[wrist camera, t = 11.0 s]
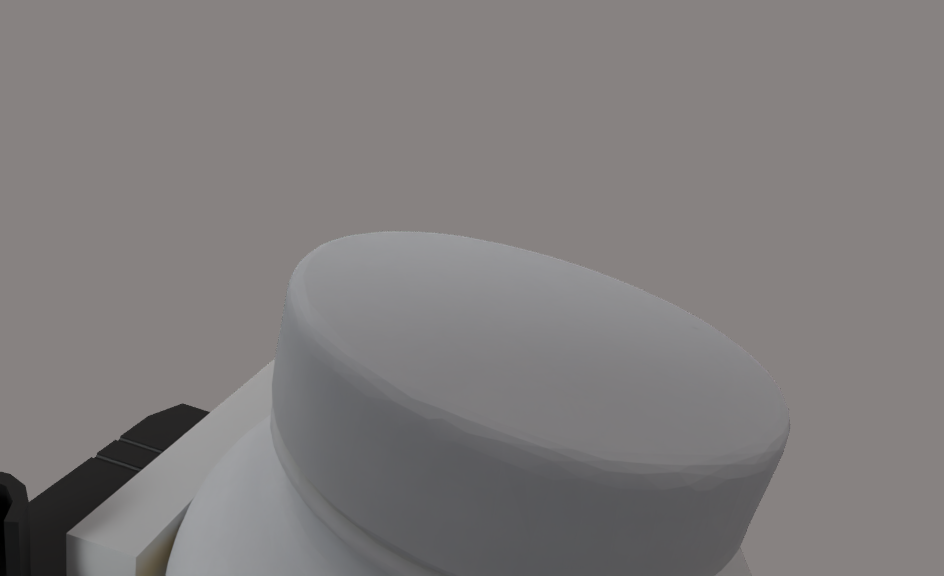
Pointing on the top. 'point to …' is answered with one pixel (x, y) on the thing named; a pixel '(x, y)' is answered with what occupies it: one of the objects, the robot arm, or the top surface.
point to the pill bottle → (487, 425)
